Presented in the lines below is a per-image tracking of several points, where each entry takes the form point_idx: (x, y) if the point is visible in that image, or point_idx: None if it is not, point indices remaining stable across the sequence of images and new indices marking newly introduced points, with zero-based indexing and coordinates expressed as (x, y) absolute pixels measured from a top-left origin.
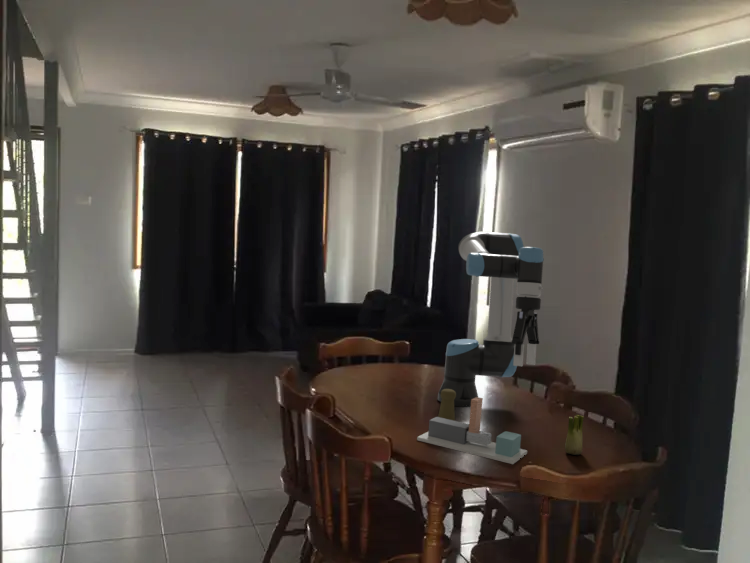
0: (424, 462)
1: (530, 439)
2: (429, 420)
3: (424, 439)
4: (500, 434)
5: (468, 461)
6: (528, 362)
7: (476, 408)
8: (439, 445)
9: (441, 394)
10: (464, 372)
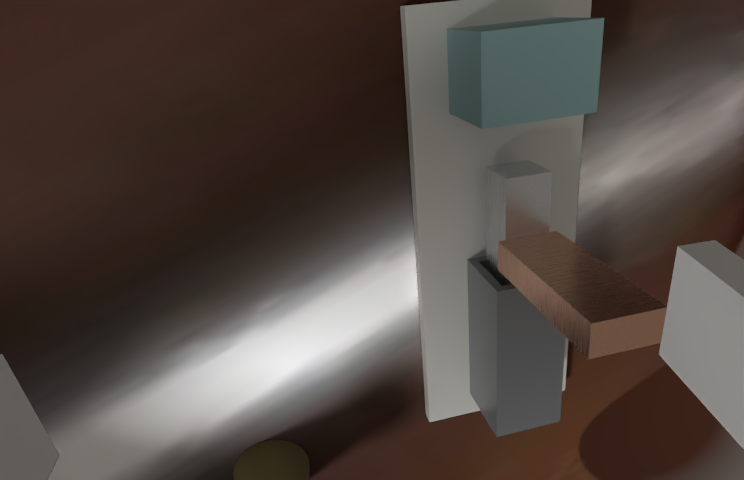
0: (741, 236)
1: (163, 102)
2: (558, 419)
3: (565, 364)
4: (554, 115)
5: (654, 143)
6: (32, 454)
7: (634, 286)
8: None
9: None
10: None
